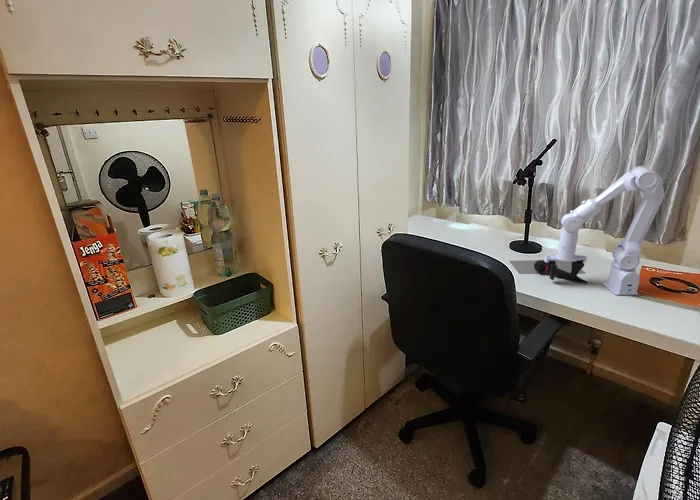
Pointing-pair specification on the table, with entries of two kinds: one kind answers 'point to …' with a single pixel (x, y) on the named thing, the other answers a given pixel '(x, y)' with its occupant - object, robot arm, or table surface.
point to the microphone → (543, 267)
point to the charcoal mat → (528, 268)
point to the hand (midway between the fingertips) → (562, 278)
